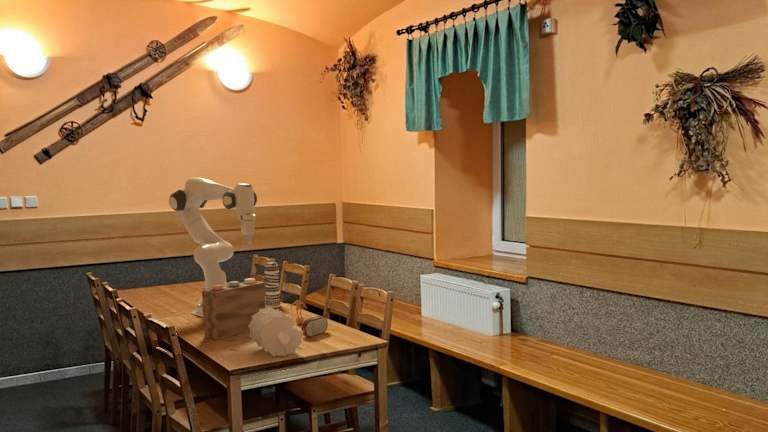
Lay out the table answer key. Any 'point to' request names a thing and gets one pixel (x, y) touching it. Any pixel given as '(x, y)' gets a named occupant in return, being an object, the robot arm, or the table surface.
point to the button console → (231, 309)
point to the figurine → (299, 318)
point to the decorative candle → (272, 285)
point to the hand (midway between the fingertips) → (248, 243)
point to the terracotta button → (217, 287)
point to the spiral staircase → (275, 332)
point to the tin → (314, 326)
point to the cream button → (250, 281)
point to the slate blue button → (233, 284)
